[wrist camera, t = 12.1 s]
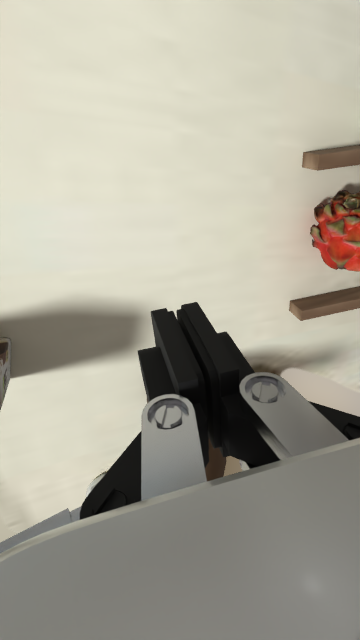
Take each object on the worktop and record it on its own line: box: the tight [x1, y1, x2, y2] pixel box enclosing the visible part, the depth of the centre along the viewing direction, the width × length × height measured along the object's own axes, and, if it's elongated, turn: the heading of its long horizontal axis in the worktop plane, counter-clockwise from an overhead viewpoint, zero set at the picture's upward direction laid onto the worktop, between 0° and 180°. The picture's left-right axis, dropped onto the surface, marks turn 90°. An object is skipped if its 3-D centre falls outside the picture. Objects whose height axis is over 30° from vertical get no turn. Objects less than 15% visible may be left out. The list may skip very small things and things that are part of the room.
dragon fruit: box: [310, 190, 360, 271], centre depth 40 cm, size 8×8×12 cm
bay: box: [289, 145, 360, 321], centre depth 43 cm, size 20×16×3 cm
